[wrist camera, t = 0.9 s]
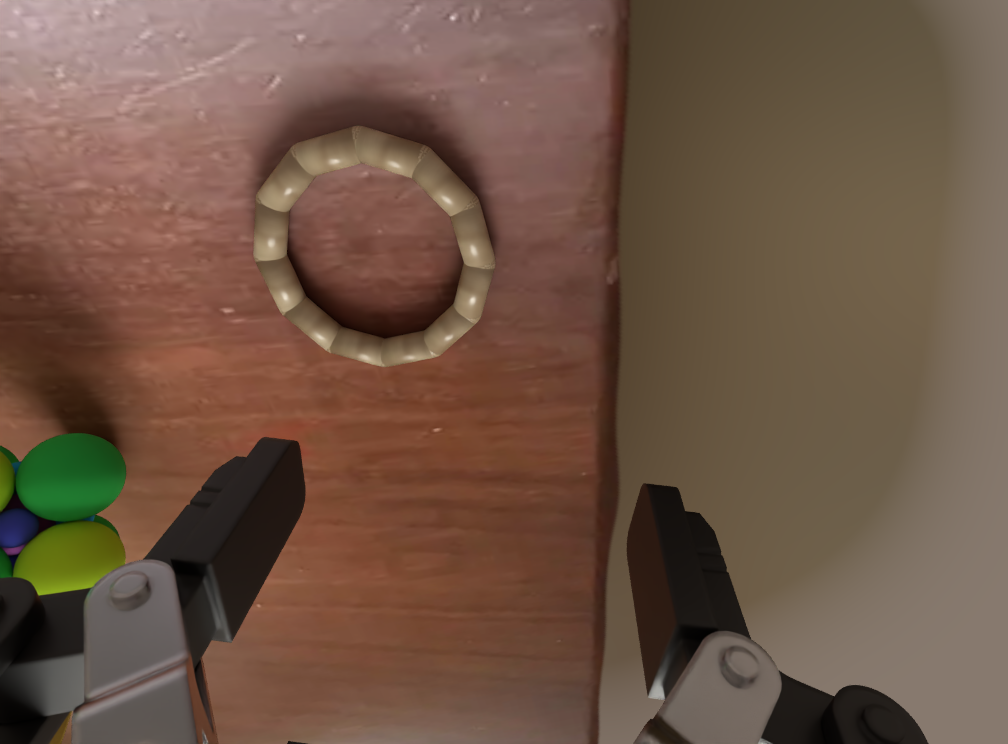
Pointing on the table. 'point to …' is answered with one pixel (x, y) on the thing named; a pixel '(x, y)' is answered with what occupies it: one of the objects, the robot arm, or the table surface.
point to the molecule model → (60, 513)
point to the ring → (396, 158)
